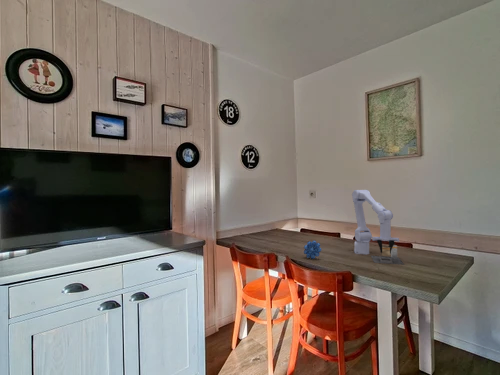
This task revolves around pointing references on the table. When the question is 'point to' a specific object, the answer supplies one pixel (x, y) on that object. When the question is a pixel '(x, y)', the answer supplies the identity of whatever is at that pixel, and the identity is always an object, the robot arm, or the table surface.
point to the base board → (384, 259)
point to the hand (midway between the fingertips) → (385, 252)
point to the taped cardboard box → (385, 251)
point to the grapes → (312, 249)
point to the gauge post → (394, 252)
